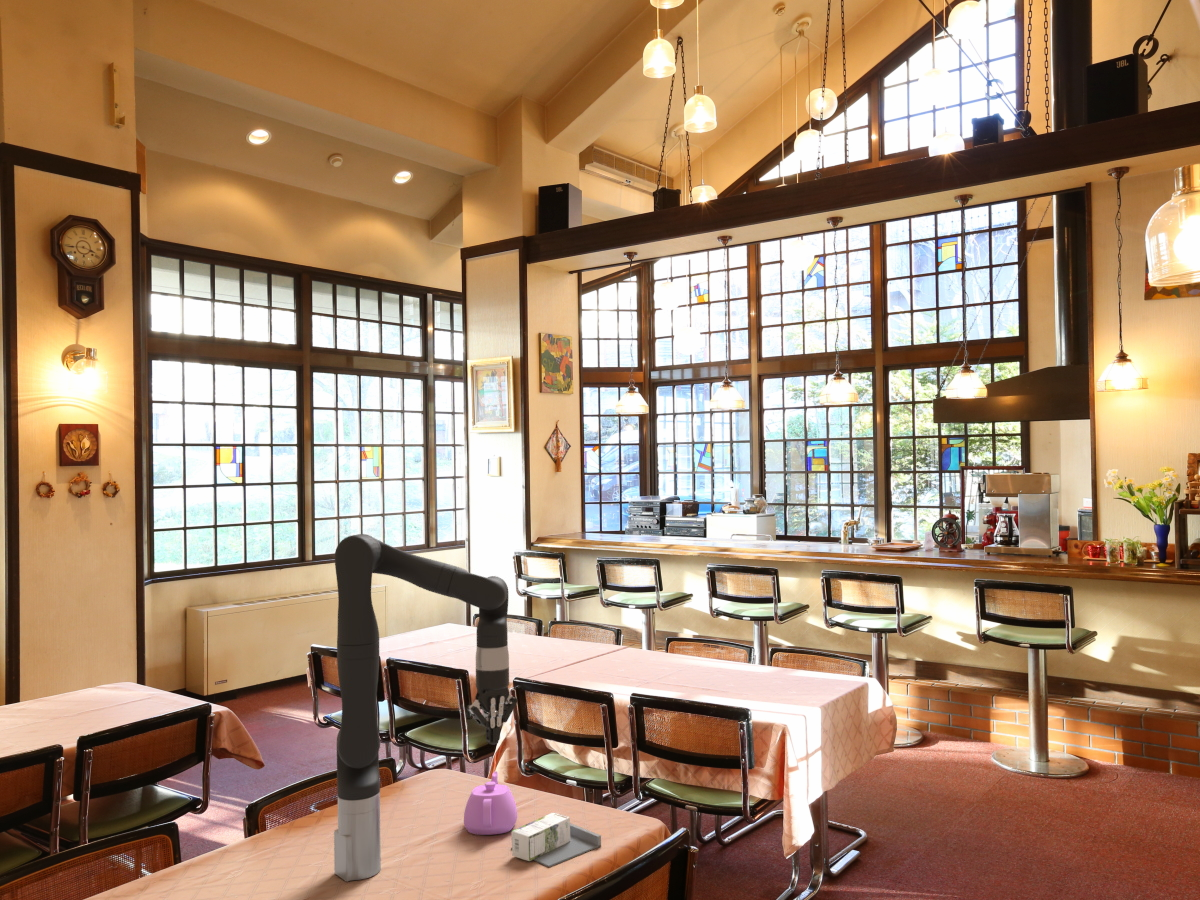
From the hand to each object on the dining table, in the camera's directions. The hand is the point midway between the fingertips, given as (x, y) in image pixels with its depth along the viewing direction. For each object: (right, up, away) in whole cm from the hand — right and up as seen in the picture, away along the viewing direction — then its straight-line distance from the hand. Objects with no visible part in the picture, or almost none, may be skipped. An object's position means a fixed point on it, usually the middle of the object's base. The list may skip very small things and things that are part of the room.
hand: (493, 743), depth 194 cm
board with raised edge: (+14, -28, +9) cm, 32 cm away
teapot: (-3, -29, +23) cm, 37 cm away
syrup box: (+6, -24, +2) cm, 25 cm away
